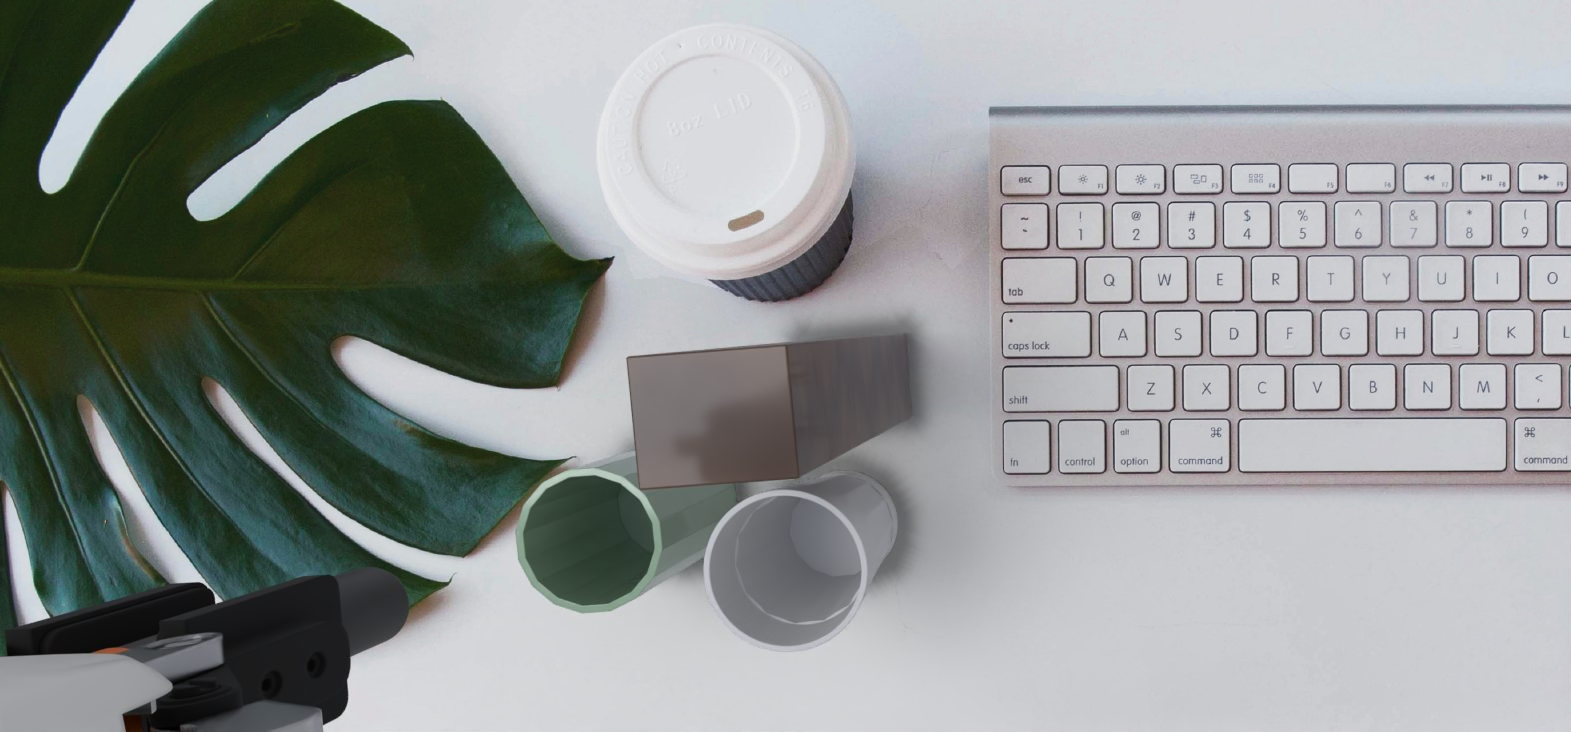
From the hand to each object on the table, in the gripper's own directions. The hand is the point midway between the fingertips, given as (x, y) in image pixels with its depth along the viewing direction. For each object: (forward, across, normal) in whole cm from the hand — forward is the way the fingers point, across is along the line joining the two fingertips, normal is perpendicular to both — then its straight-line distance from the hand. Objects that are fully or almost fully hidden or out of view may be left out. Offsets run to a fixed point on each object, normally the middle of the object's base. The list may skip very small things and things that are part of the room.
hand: (263, 647), depth 24 cm
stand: (+40, +5, +4) cm, 40 cm away
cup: (+40, +3, -5) cm, 41 cm away
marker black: (+4, 0, 0) cm, 4 cm away
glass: (+40, -7, -3) cm, 41 cm away
